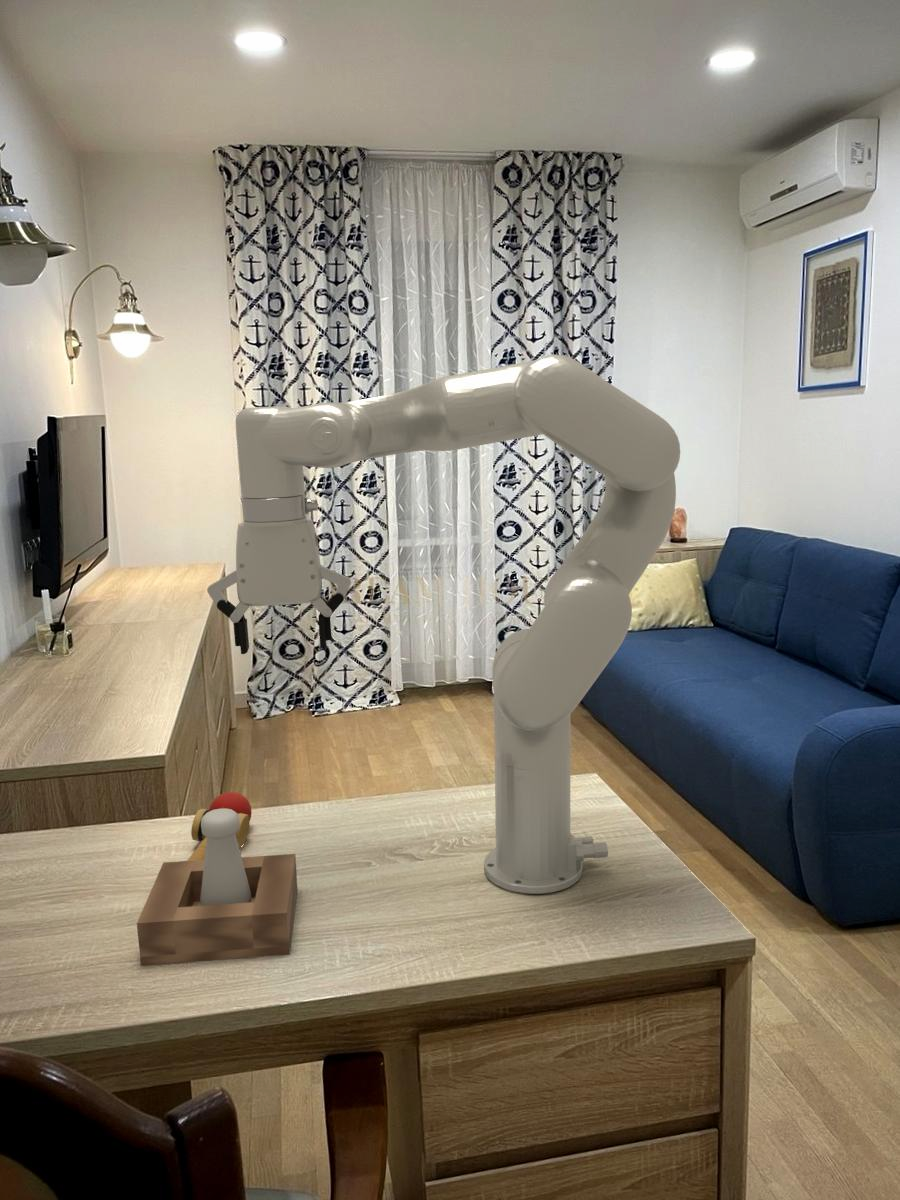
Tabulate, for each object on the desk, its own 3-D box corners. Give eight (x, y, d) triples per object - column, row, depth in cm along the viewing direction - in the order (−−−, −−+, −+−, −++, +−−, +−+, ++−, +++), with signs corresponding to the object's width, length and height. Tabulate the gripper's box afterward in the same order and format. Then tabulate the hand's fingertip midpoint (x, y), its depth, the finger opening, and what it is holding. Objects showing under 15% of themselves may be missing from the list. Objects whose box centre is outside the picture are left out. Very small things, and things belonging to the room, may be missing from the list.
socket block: (297, 890, 117) (295, 853, 116) (289, 954, 103) (286, 912, 102) (166, 899, 115) (163, 862, 114) (140, 965, 102) (136, 923, 101)
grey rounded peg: (240, 932, 106) (232, 825, 103) (193, 928, 107) (184, 822, 104) (260, 906, 111) (252, 804, 109) (215, 902, 112) (207, 801, 110)
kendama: (228, 893, 119) (268, 816, 136) (214, 851, 117) (255, 778, 134) (172, 901, 121) (218, 823, 138) (157, 859, 119) (205, 786, 136)
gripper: (346, 505, 117) (353, 637, 121) (205, 511, 115) (217, 646, 119) (346, 510, 110) (355, 652, 113) (196, 518, 108) (209, 661, 111)
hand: (284, 648), depth 116 cm, fingers open, 9 cm apart
